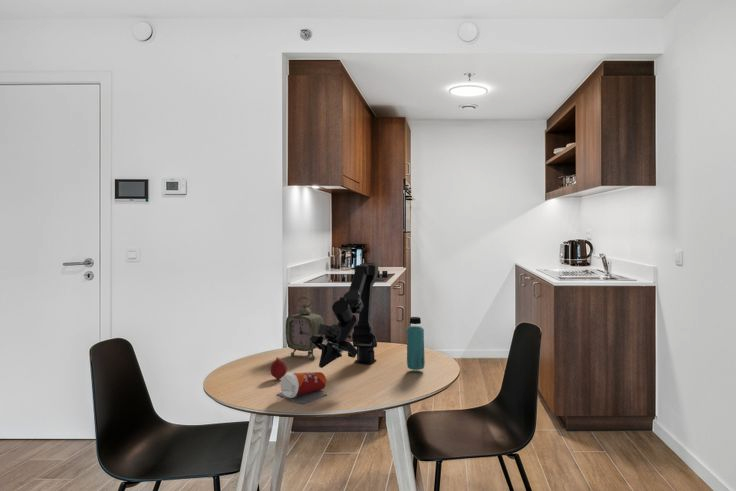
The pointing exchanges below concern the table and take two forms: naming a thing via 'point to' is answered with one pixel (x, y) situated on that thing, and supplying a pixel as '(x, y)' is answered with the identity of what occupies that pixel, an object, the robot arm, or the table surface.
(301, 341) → the tabletop clock
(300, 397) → the mat
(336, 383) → the table surface
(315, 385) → the paper cup
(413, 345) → the beverage bottle
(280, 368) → the red rounded piece
